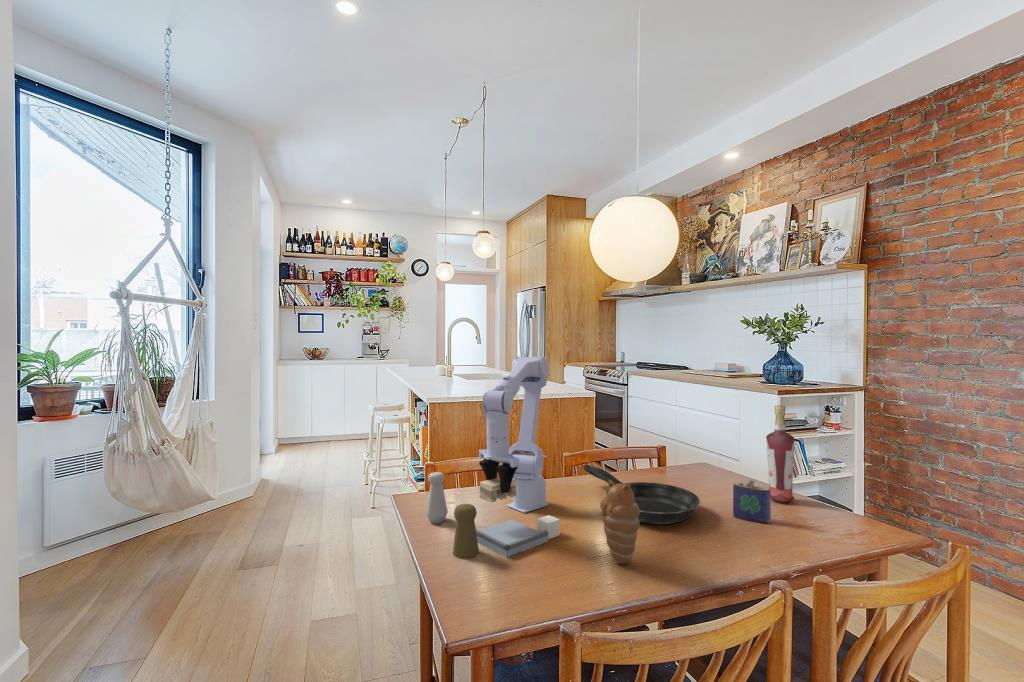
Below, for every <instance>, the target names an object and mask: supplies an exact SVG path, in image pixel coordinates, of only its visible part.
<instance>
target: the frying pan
mask: <svg viewBox="0 0 1024 682" xmlns="http://www.w3.org/2000/svg"><path fill="white" fill-rule="evenodd" d="M582 468H583V469H584V471H586V472H587V473H588V474H589V475H591V476H593V477H594V478H597V479H599V480H601V481H604V482H605V483H607V484H608V485H609V480H611V481H613V482H614V483H615V484H625V485H627V484H631V490H632V491H633V493H634V498H635V502H636V503H637V505H638V507H639V509H640V514H639V516H638V519H639V523H645V524H651V525H668V524H676V523H680V522H682V521H684V520H687V519H688V518H690V516H691V515H693V513H694V512H695V510H696V509H697V507H698V506H699V505H700V504H701V500H700V497H699V496H698V495H697V494H695V492H692V491H690V490H688V489H685V488H683V487H679V486H675V485H671V484H666V483H659V482H658V483H657V482H644V481H643V482H642V481H641V482H640V481H639V482H635V481H634V482H633V481H632V482H625V483H623V482H622V481H620V480H619V479H617V478H616V477H615V476H614V475H613V474H611V473H609V472H608V471H606V470H604V469H602V468H600V467H597V466H594V465H589V464H584V465H583V467H582ZM608 491H609V488H608V489H607V491H606V493H605V496H606V495H607V493H608Z"/></svg>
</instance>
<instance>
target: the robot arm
mask: <svg viewBox="0 0 1024 682" xmlns="http://www.w3.org/2000/svg"><path fill="white" fill-rule="evenodd" d="M548 364H549V363H548V360H547V358H546V357H545V356H515V357H514V358H513V359H512V362H511V371H510V373H509V374H508V375H503V376H502V378H501V379H500V380H499V381H498V382H497V384H496V385H495V386H494V388H492V389H491V390H490V389H489V390H487V391H486V392H484V394H483V396H482V400H481V401H482V402H481V406H482V409H483V413H484V414H483V416H484V420H486V448H484V449H478V458H480V459H482V458H483V460H479V463H478V464H479V465H480V468H481V469H482V471H483V474H484V476H485V481H486V480H490V479H495V478H500V488H501V493H507V492H509V491H510V486H511V482H512V479H513V480H516V496H514V497H512V502H510V503H507V504H506V506H507V507H508V508H511V509H513V510H515V511H518V512H521V513H528V512H531V511H534V510H538V509H541V508H543V507H544V508H545V507H547V506H548V505H549V503H546V502H547V487H546V486H547V483H546V479H545V478H544V476H543V475H542V473H543V469H544V452H543V449H542V448H541V447H539V445H538V444H537V443H536V436H537V427H538V419H539V410H540V409H539V408H540V400H541V393H542V388H544V387H546V386H547V381H548V376H549V375H548V374H549V365H548ZM521 387H522V388H523V389H524V394H523V395H524V396H523V402H522V403H523V404H522V411H521V418H520V426H519V427H520V428H519V434H518V440H517V442H515V443H514V444H512V445H511V446H510V427H509V426H510V422H509V417H510V416H509V414H510V412H512V408H513V404H514V401H515V400H514V398H515V397H516V396H517V394H518V392H519V391H520V390H521Z"/></svg>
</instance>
